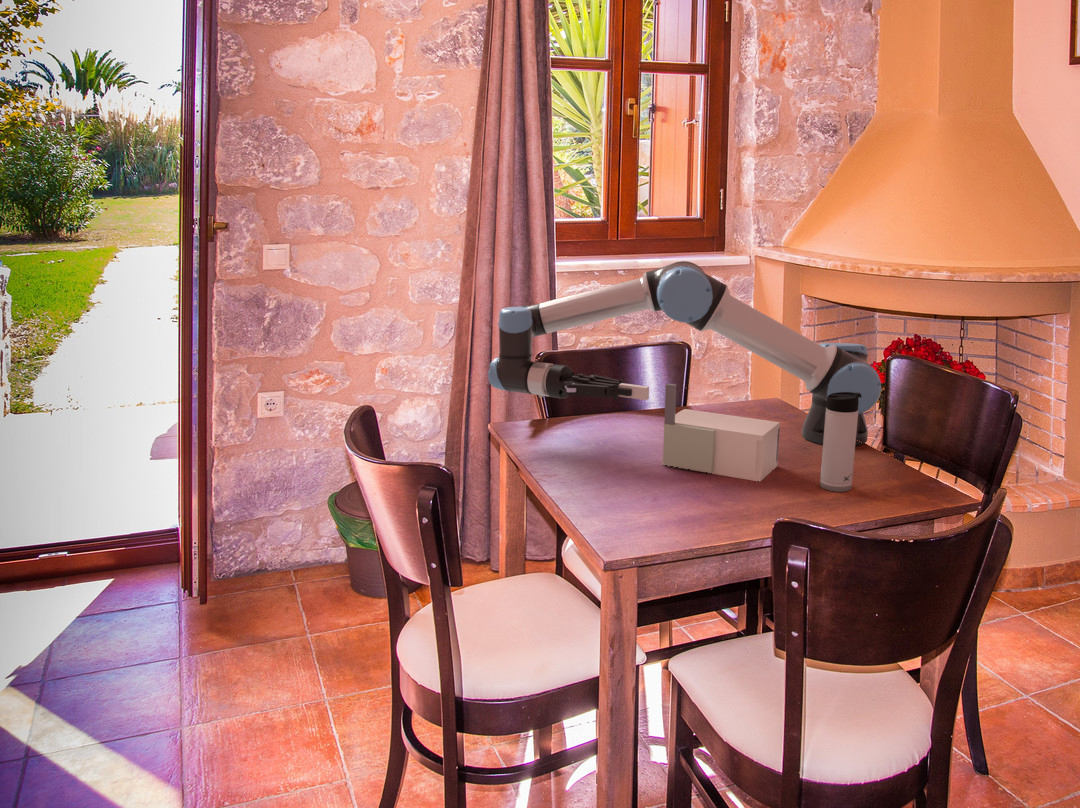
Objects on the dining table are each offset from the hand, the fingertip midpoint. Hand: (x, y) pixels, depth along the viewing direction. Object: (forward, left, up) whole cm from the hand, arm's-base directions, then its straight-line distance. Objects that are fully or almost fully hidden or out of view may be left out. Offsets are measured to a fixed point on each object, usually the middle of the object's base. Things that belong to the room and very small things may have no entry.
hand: (647, 393), depth 215 cm
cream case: (-16, +1, -16) cm, 23 cm away
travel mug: (-38, +15, -16) cm, 44 cm away
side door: (-9, +5, -15) cm, 18 cm away
